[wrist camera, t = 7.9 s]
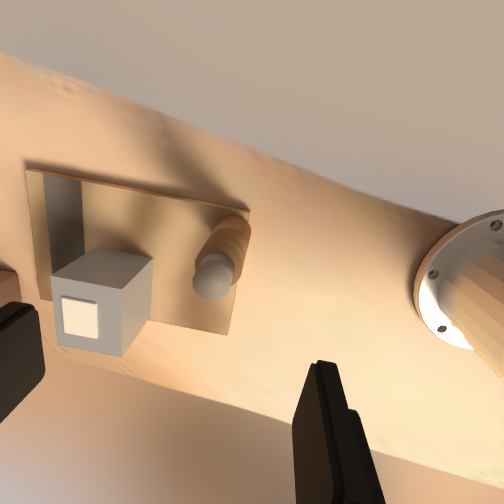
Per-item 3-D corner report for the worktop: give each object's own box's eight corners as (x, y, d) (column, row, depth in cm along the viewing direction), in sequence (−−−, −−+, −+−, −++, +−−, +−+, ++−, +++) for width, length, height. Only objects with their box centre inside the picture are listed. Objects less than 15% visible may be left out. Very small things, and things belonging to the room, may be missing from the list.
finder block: (153, 258, 25) (120, 290, 20) (150, 315, 27) (120, 359, 22) (96, 247, 25) (48, 277, 20) (98, 305, 27) (55, 346, 22)
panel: (250, 210, 24) (249, 214, 23) (228, 329, 28) (227, 336, 27) (34, 168, 24) (24, 170, 23) (47, 293, 28) (39, 299, 27)
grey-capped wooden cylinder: (253, 218, 23) (241, 265, 15) (247, 250, 24) (233, 311, 16) (219, 211, 23) (187, 254, 15) (214, 244, 24) (182, 301, 16)
